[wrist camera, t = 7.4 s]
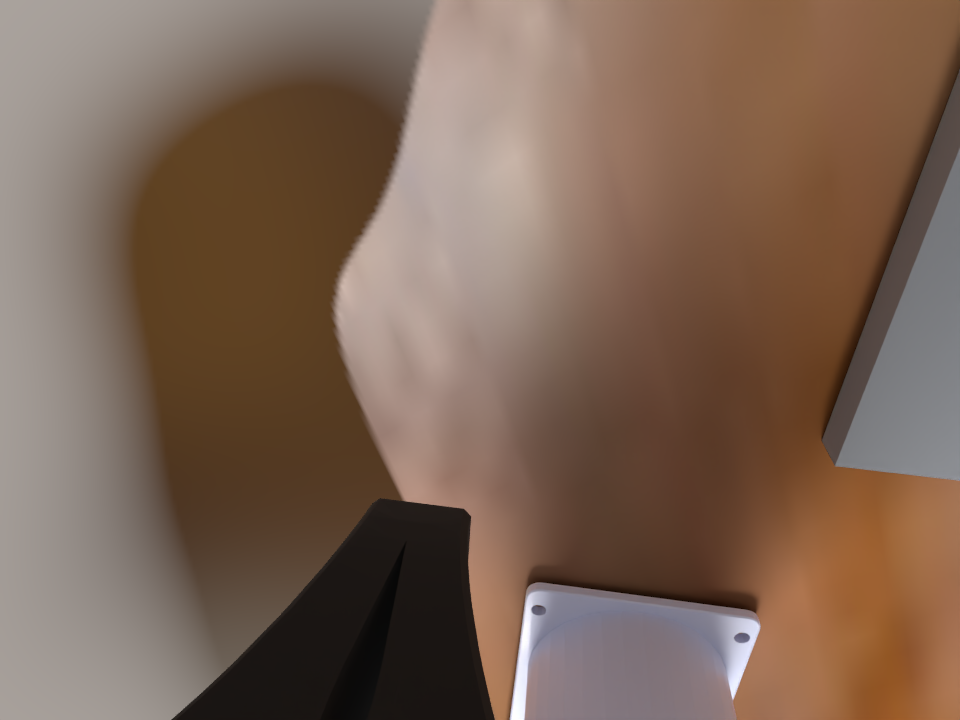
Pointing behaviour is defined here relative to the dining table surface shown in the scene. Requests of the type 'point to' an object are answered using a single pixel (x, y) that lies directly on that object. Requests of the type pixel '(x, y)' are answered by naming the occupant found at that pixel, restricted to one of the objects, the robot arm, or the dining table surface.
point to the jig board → (911, 336)
